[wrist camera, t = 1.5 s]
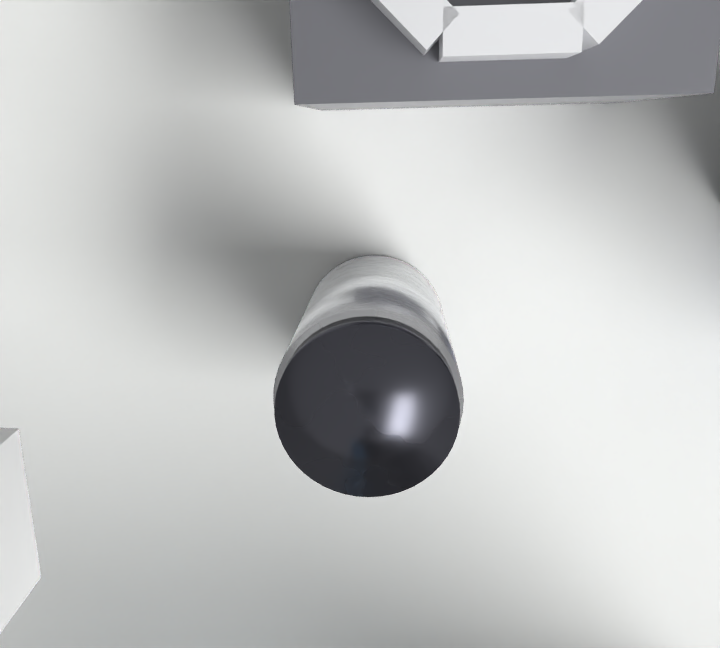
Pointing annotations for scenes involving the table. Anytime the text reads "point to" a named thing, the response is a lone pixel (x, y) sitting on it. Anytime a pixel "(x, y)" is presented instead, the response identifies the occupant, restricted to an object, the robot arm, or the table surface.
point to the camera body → (500, 52)
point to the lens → (369, 381)
